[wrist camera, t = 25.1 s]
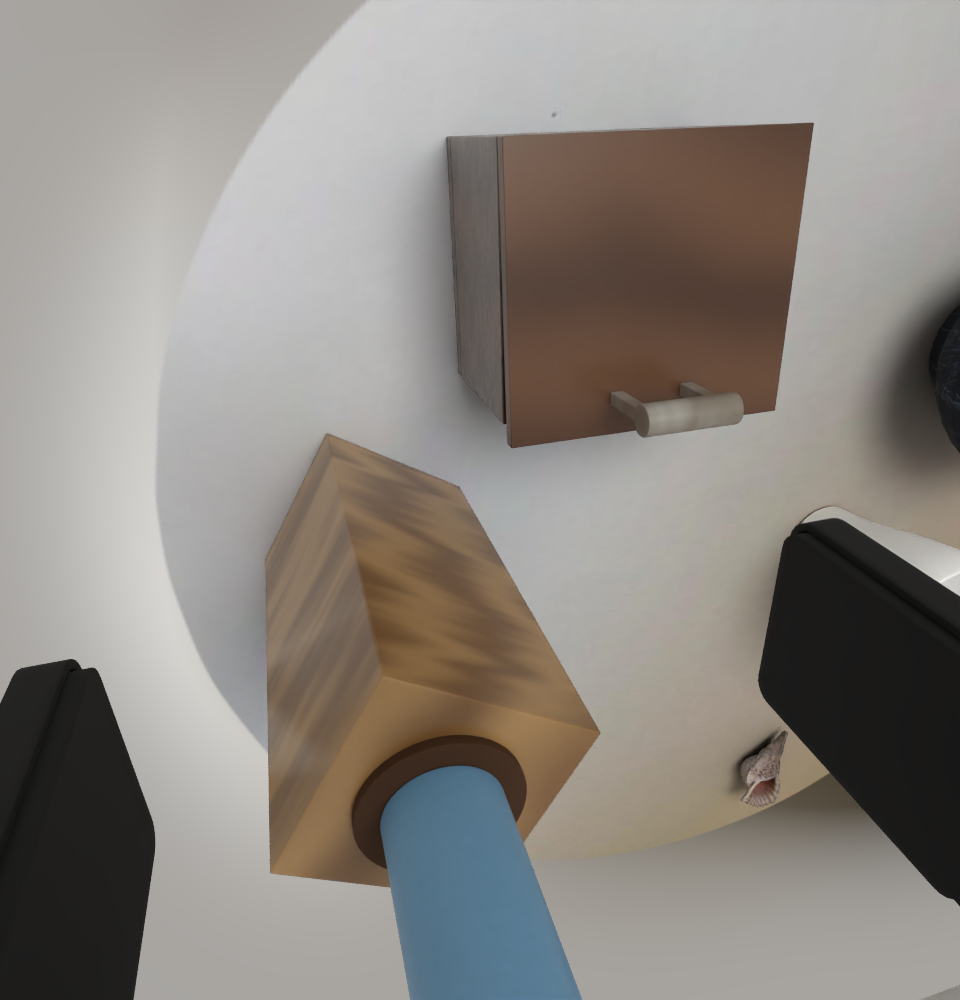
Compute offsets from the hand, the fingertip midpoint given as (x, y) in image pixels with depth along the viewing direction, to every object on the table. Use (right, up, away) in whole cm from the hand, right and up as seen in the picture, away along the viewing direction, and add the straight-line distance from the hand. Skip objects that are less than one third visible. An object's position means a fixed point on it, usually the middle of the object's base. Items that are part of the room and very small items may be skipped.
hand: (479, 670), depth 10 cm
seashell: (+28, -24, +63) cm, 73 cm away
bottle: (-1, -10, +18) cm, 21 cm away
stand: (-8, +1, +39) cm, 40 cm away
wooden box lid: (+9, +13, +26) cm, 31 cm away
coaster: (-2, -10, +19) cm, 21 cm away
